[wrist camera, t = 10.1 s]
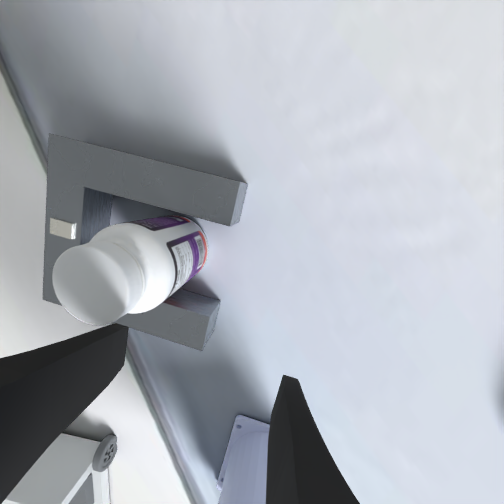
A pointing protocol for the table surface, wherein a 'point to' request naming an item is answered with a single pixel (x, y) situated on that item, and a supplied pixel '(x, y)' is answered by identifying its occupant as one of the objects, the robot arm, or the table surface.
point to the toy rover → (68, 473)
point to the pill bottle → (129, 268)
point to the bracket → (142, 190)
